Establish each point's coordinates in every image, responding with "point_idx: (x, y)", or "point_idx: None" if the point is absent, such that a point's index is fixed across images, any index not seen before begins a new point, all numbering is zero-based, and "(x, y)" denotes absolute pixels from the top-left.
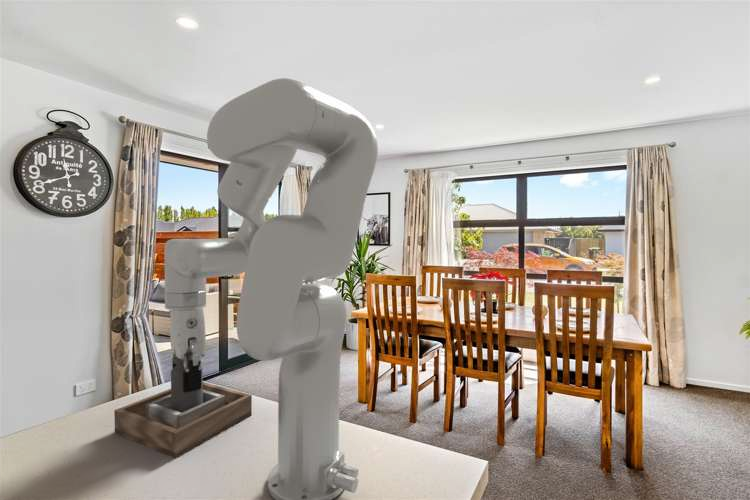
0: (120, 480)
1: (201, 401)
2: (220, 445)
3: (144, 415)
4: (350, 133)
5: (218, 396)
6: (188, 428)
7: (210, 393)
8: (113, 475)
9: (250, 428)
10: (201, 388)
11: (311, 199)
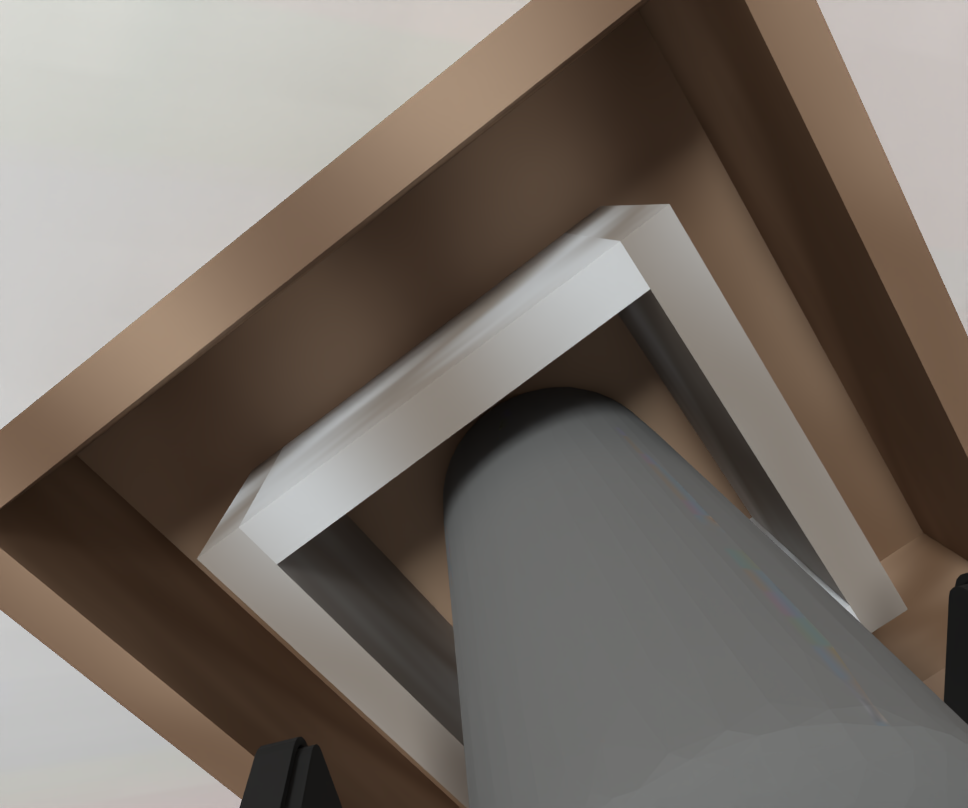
0: None
1: (670, 452)
2: (958, 275)
3: (393, 759)
4: None
5: (653, 279)
6: None
7: (520, 362)
8: None
9: (858, 16)
10: (740, 518)
11: None
